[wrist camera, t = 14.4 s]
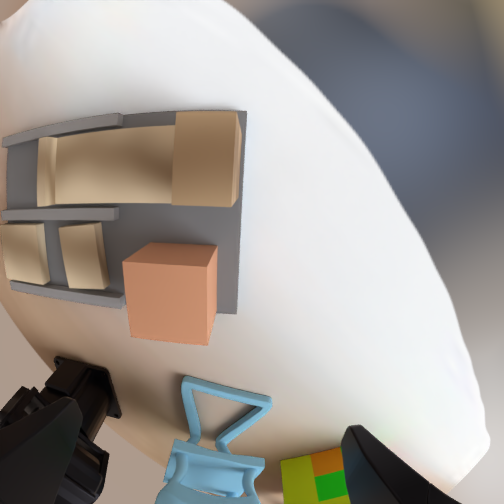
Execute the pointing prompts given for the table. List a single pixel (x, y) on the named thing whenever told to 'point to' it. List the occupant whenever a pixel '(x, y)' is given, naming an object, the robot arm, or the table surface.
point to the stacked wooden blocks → (145, 163)
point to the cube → (172, 292)
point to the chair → (213, 454)
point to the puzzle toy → (315, 479)
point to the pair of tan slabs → (73, 249)
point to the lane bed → (119, 217)
